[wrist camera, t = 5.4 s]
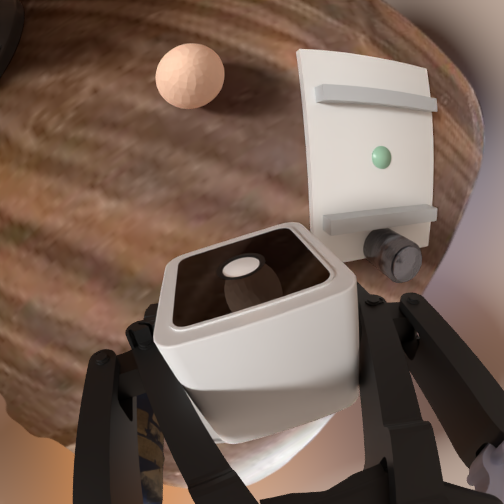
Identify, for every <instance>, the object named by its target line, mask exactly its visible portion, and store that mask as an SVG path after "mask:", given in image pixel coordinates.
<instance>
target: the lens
mask: <svg viewBox="0 0 504 504" xmlns="http://www.w3.org/2000/svg"><path fill="white" fill-rule="evenodd" d="M363 253H364V256H365V258H366V259H367V260H368V261H369V262H370V263H371V264H373V265H374V266H375V267H376V268H378V269H379V270H380V271H381V272H382V273H384V274H385V275H386V276H387V277H389V278H390V279H391V280H392V281H394V282H396V283H402V282H407V281H409V280H411V279H412V278H413V277H415V275H416V274H417V273H418V271H419V269H420V267H421V264H422V255H421V250H420V248H419V246H418V245H417V244H416V243H414V242H413V241H411V240H409V239H407V238H406V237H404V236H402V235H400V234H398V233H397V232H395V231H393V230H391V229H389V228H383V229H376V230H372V231H371V232H370V233H369V234H368V236H367V237H366V239H365V242H364V246H363Z"/></svg>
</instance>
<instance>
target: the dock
mask: <svg viewBox="0 0 504 504" xmlns="http://www.w3.org/2000/svg"><path fill="white" fill-rule="evenodd" d="M296 54H297V62H298V70H299V79H300V87H301V97H302V107H303V117H304V129H305V141H306V155H307V170H308V188H309V209H310V232H311V233H312V234H313V235H314V236H315V237H316V238H318V239H319V240H320V241H321V242H322V243H323V244H324V245H325V246H326V247H327V248H328V249H329V250H330V251H331V252H332V253H334V254H335V255H336V256H337V257H338V258H339V259H340V260H341V261H342V262H348V261H354V260H359V259H364V258H365V256H364V253H363V246H364V242H365V239H366V237H367V236H368V234H369V233H370V232H371V231H372V230H376V229H383V228H389V229H391V230H393V231H395V232H397V233H398V234H400V235H402V236H404V237H406V238H407V239H409V240H411V241H413V242H414V243H416V244H417V245H418V246H419V248H421V247H426V246H428V242H429V234H430V224H431V222H432V221H436V219H437V208H436V207H433V206H432V198H433V169H434V152H433V124H432V112H438V111H437V100H436V98H431V97H430V89H429V81H428V74H427V69H425V68H421V67H418V66H414V65H410V64H405V63H401V62H397V61H392V60H387V59H382V58H376V57H371V56H364V55H358V54H351V53H343V52H334V51H323V50H309V49H299V50H298V51H297V52H296Z"/></svg>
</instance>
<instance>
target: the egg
mask: <svg viewBox="0 0 504 504" xmlns="http://www.w3.org/2000/svg"><path fill="white" fill-rule="evenodd" d="M223 82H224V66H223V64H222V61H221V59H220V57H219V56H218V55H217V54H216V53H215V52H214V51H213V50H212V49H210V48H208V47H207V46H204V45H201V44H194V43H188V44H183V45H180V46H177V47H175V48H174V49H172V50H170V51H169V52H168V53H167V54H165V55H164V57H163V58H162V59H161V61H160V62H159V64H158V67H157V71H156V84H157V88H158V90H159V92H160V94H161V96H162V97H163V98H164V99H165V100H166V101H167V102H168V103H170V104H172V105H173V106H175V107H178V108H182V109H194V108H198V107H201V106H204V105H206V104H207V103H209V102H211V101H212V100H213V99H214V98H215V97H216V96H217V95H218V93H219V92H220V90H221V88H222V85H223Z"/></svg>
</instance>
